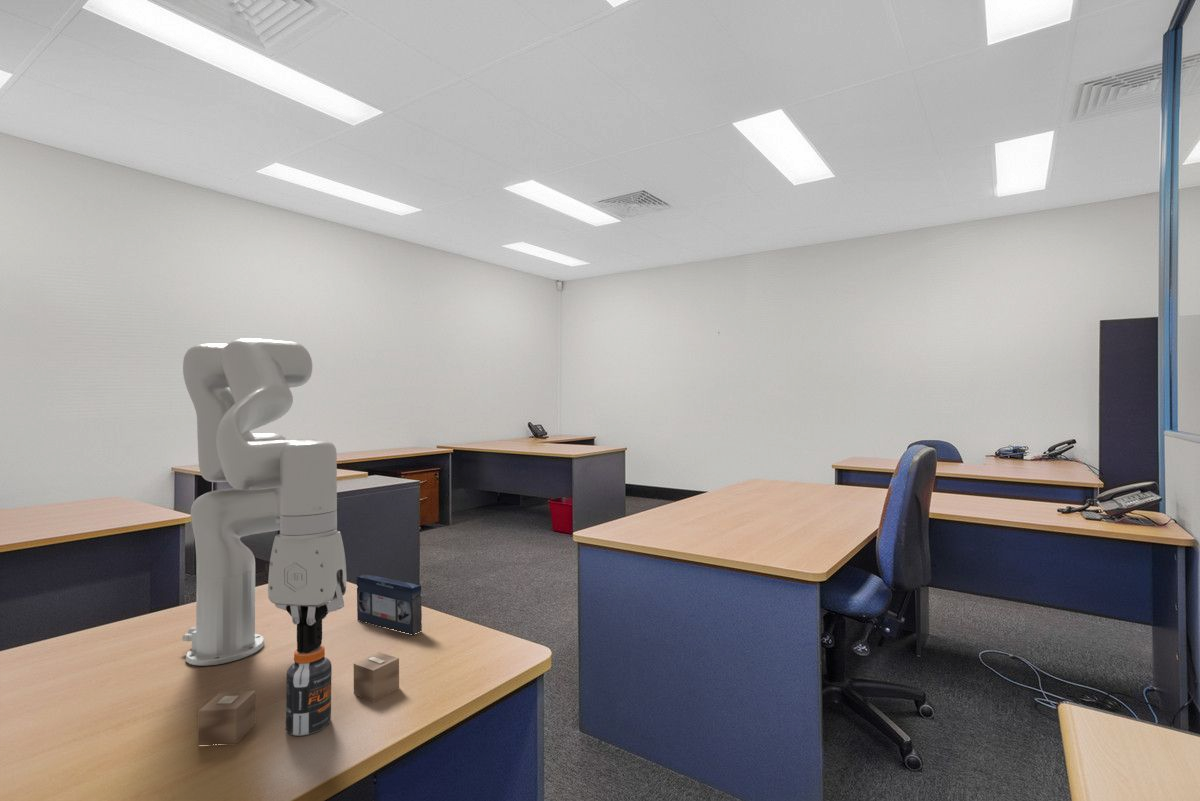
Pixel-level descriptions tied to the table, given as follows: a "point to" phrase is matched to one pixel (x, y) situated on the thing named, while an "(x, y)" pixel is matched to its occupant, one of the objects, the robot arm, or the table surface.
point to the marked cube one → (226, 718)
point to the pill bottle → (308, 692)
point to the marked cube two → (376, 676)
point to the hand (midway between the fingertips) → (309, 648)
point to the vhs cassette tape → (389, 603)
